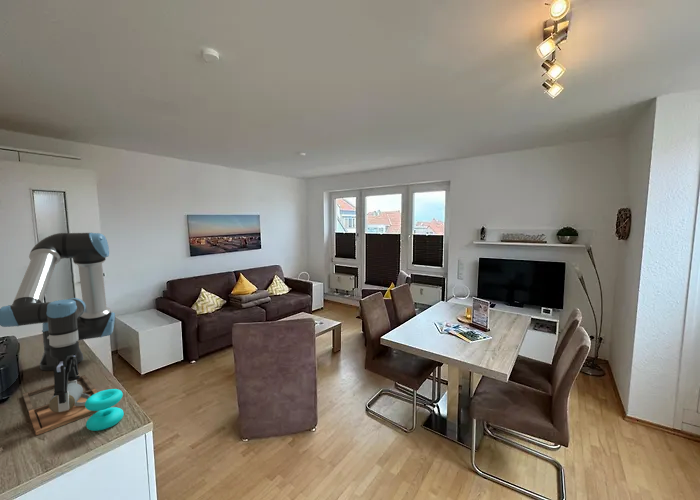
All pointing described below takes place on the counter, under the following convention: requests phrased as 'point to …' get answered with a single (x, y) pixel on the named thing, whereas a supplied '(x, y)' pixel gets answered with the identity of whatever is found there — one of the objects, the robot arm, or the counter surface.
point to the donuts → (104, 409)
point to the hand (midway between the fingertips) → (68, 403)
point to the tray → (52, 418)
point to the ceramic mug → (74, 396)
